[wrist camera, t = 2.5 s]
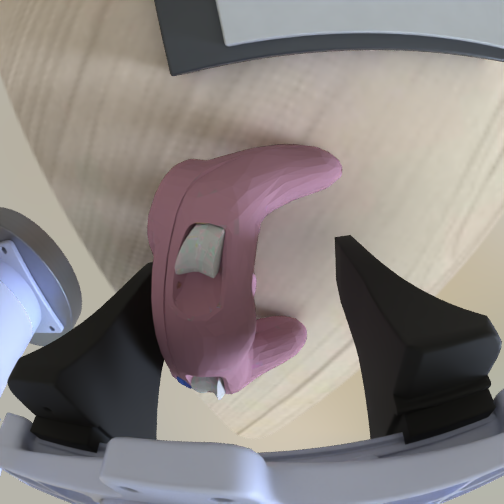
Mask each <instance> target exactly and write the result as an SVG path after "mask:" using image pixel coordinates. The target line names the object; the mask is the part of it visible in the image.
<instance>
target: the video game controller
mask: <svg viewBox="0 0 504 504" xmlns="http://www.w3.org/2000/svg"><path fill="white" fill-rule="evenodd" d="M341 175H342V165H341V163H340V161H339V160H338V159H337V158H336V157H335V156H333V155H332V154H330V153H329V152H327V151H325V150H322V149H320V148H318V147H313V146H305V145H296V144H281V145H271V146H263V147H257V148H251V149H247V150H243V151H239V152H236V153H232V154H228V155H225V156H221V157H218V158H214V159H211V160H198V159H189V160H185V161H183V162H181V163H178V164H177V165H175V166H174V167H173V168H172V169H171V170H170V171H169V172H168V173H167V174H166V175H165V177H164V178H163V180H162V181H161V183H160V185H159V187H158V189H157V191H156V193H155V196H154V199H153V202H152V205H151V209H150V212H149V216H148V225H147V235H148V241H149V245H150V248H151V251H152V253H153V256H154V259H153V267H152V293H151V299H152V313H153V322H154V328H155V334H156V338H157V341H158V344H159V348H160V351H161V354H162V356H163V358H164V360H165V362H166V364H167V366H168V367H169V369H170V372H171V374H172V376H173V377H174V378H176V379H177V380H178V382H179V383H181V384H182V385H185V386H186V387H188V388H190V389H191V388H192V389H194V390H195V391H197V392H200V393H205V392H213V393H214V394H215V395H216V396H217V398H218V399H222V397H223V395H224V394H233V393H236V392H238V391H240V390H241V389H242V388H244V387H245V386H246V385H248V384H249V383H250V382H252V381H253V380H254V379H255V378H257V377H259V376H260V375H262V374H263V373H265V372H267V371H269V370H271V369H273V368H275V367H276V366H278V365H280V364H282V363H284V362H285V361H287V360H289V359H290V358H292V357H293V356H295V355H296V354H297V353H298V352H299V351H300V349H301V348H302V347H303V345H304V344H305V342H306V339H307V330H306V327H305V326H304V325H303V324H302V323H301V322H300V321H298V320H297V319H296V318H291V317H287V316H272V317H266V318H260V319H257V320H256V311H255V302H254V294H255V290H256V277H255V274H254V273H253V272H254V265H255V257H256V249H257V241H258V235H259V231H260V225H261V222H262V221H263V219H264V218H265V216H267V215H268V214H269V213H271V212H272V211H273V210H275V209H277V208H279V207H281V206H283V205H285V204H287V203H289V202H291V201H293V200H296V199H298V198H301V197H304V196H307V195H310V194H312V193H315V192H318V191H321V190H324V189H326V188H328V187H329V186H331V185H332V184H333V183H334V182H335V181H337V180H338V179H339V178H340V177H341Z"/></svg>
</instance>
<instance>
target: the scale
mask: <svg viewBox="0 0 504 504" xmlns="http://www.w3.org/2000/svg"><path fill="white" fill-rule="evenodd" d="M154 2H155V6H156V11H157V16H158V21H159V25H160V30H161V34H162V39H163V44H164V48H165V52H166V57H167V61H168V66H169V70H170V74H171V75H172V76H177V75H182V74H187V73H191V72H195V71H200V70H204V69H208V68H213V67H218V66H223V65H228V64H233V63H238V62H244V61H250V60H256V59H262V58H269V57H276V56H284V55H293V54H303V53H314V52H327V51H347V50H403V51H421V52H434V53H445V54H454V55H462V56H469V57H476V58H482V59H488V60H495V61H501V62H504V0H154Z"/></svg>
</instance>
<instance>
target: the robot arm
mask: <svg viewBox="0 0 504 504" xmlns="http://www.w3.org/2000/svg"><path fill="white" fill-rule="evenodd" d="M335 257H336V281H337V286H338V291H339V296H340V300H341V304H342V307H343V310H344V313H345V316H346V319H347V322H348V325H349V328H350V331H351V334H352V337H353V340H354V343H355V346H356V349H357V353H358V357H359V362H360V367H361V372H362V378H363V384H364V390H365V397H366V404H367V411H368V419H369V428H370V439H369V440H364V441H358V442H353V443H347V444H341V445H334V446H327V447H320V448H311V449H302V450H293V451H279V452H264V453H256V452H254V451H253V450H252V449H250V448H246V447H242V446H238V445H234V444H225V443H213V442H182V441H164V440H156V430H157V406H158V395H159V386H160V378H161V371H162V367H163V362H164V358H163V356H162V354H161V351H160V348H159V344H158V341H157V338H156V334H155V328H154V322H153V313H152V299H151V293H152V267H153V262H151V263H148V264H146V265H145V266H144V267H143V268H142V269H141V270H139V271H138V272H137V273H136V274H135V275H134V276H133V277H132V278H131V279H130V280H129V281H128V282H127V283H126V284H125V285H124V286H123V287H122V288H121V289H120V290H119V291H118V292H117V293H116V294H115V295H114V296H113V297H111V298H110V300H108V301H107V302H106V303H105V304H104V305H103V306H102V307H101V308H100V309H98V310H97V311H96V312H95V313H94V314H93V315H91V316H90V317H89V318H87V319H86V320H85V321H84V322H82V323H81V324H80V325H78V326H77V327H75V328H74V329H72V330H71V331H69V332H68V333H66V334H65V335H63V336H62V337H60V338H58V339H57V340H55V341H53V342H52V343H50V344H48V345H46V346H44V347H42V348H40V349H38V350H36V351H34V352H32V353H30V354H28V355H25V356H23V357H21V355H22V354H23V352H24V350H25V348H26V347H27V345H28V343H29V342H30V340H31V338H32V336H33V335H34V333H61V332H62V331H63V329H64V327H63V325H62V323H61V322H60V320H59V319H58V317H57V316H56V314H55V313H54V311H53V310H52V308H51V307H50V305H49V303H48V302H47V300H46V299H45V297H44V295H43V294H42V292H41V290H40V289H39V287H38V285H37V284H36V282H35V280H34V279H33V277H32V275H31V273H30V272H29V270H28V268H27V266H26V264H25V262H24V261H23V259H22V257H21V255H20V253H19V251H18V249H17V247H16V245H15V244H14V242H12V241H11V240H5V241H2V242H0V397H1V395H2V393H3V391H4V389H5V386H6V385H7V383H8V386H9V388H10V390H11V391H12V393H13V394H14V395H15V396H16V397H17V398H18V399H19V400H20V401H21V402H22V403H23V404H24V405H25V406H26V407H27V408H28V409H29V410H30V411H31V412H32V413H34V414H35V415H36V417H35V419H34V422H33V423H32V422H31V421H29V420H28V419H26V418H24V417H22V416H18V415H15V414H12V413H7V414H6V416H5V419H4V421H3V423H2V426H1V428H0V475H1V472H2V469H3V470H4V471H6V472H7V473H9V474H10V475H12V476H13V477H15V478H17V479H18V480H20V481H22V482H23V483H25V484H27V485H29V486H31V487H33V488H35V489H37V490H40V491H42V492H45V493H47V494H50V495H52V496H54V497H57V498H59V499H62V500H64V501H67V502H70V503H72V504H441V503H444V502H446V501H449V500H451V499H454V498H456V497H458V496H461V495H463V494H466V493H468V492H470V491H472V490H475V489H477V488H479V487H481V486H483V485H485V484H487V483H490V482H492V481H494V480H496V479H498V478H500V477H502V476H504V389H503V390H501V391H500V392H499V393H498V394H497V395H496V397H495V398H494V400H493V399H492V396H491V394H490V391H489V389H488V388H489V387H490V386H491V381H490V379H489V377H488V373H489V371H490V370H491V368H492V366H493V364H494V363H495V361H496V359H497V357H498V355H499V352H500V350H501V344H502V341H501V339H500V337H499V335H498V333H497V331H496V330H495V328H494V326H493V325H492V323H491V321H490V320H489V318H488V317H487V316H485V315H481V314H479V313H475V312H472V311H469V310H466V309H463V308H460V307H457V306H455V305H452V304H449V303H447V302H445V301H443V300H440V299H438V298H436V297H434V296H432V295H430V294H428V293H426V292H424V291H423V290H421V289H419V288H417V287H415V286H414V285H412V284H411V283H409V282H407V281H406V280H404V279H403V278H401V277H400V276H398V275H397V274H396V273H394V272H393V271H391V270H390V269H389V268H387V267H386V266H385V265H384V264H382V263H381V262H380V261H379V260H378V259H376V258H375V257H374V256H373V255H372V254H371V253H370V252H368V251H367V250H366V249H365V248H364V247H363V246H362V245H361V244H360V243H359V242H357V241H356V240H355V239H354V238H353V237H352V236H351V235H348V236H340V237H335ZM0 420H1V419H0Z"/></svg>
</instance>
